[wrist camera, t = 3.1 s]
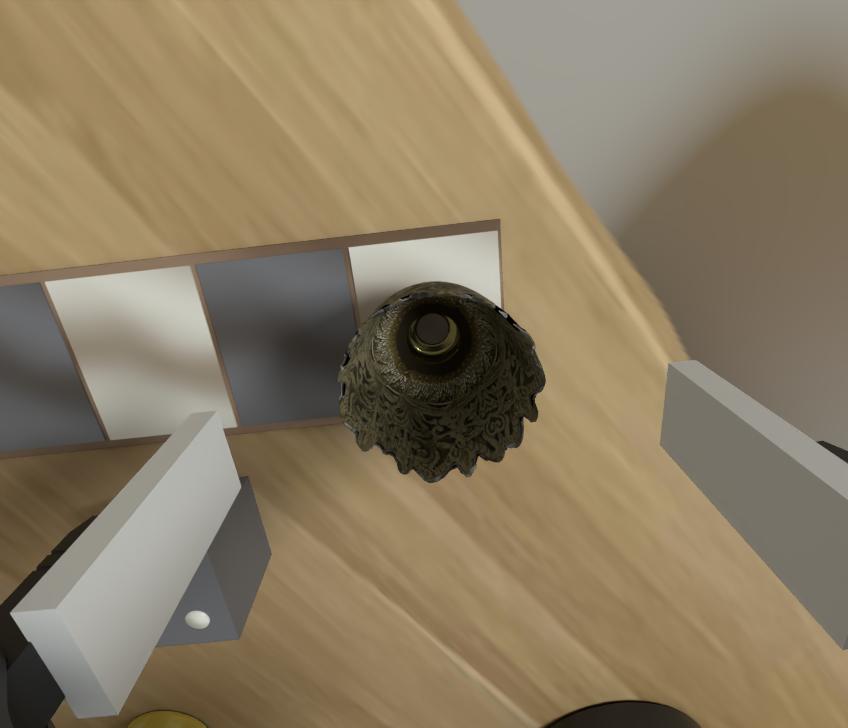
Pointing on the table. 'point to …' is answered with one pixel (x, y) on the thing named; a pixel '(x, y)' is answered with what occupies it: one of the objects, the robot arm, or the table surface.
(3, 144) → the table surface
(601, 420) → the table surface
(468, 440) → the olive textured vase
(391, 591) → the table surface
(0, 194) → the table surface
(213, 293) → the game board
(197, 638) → the die
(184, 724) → the plant pot
